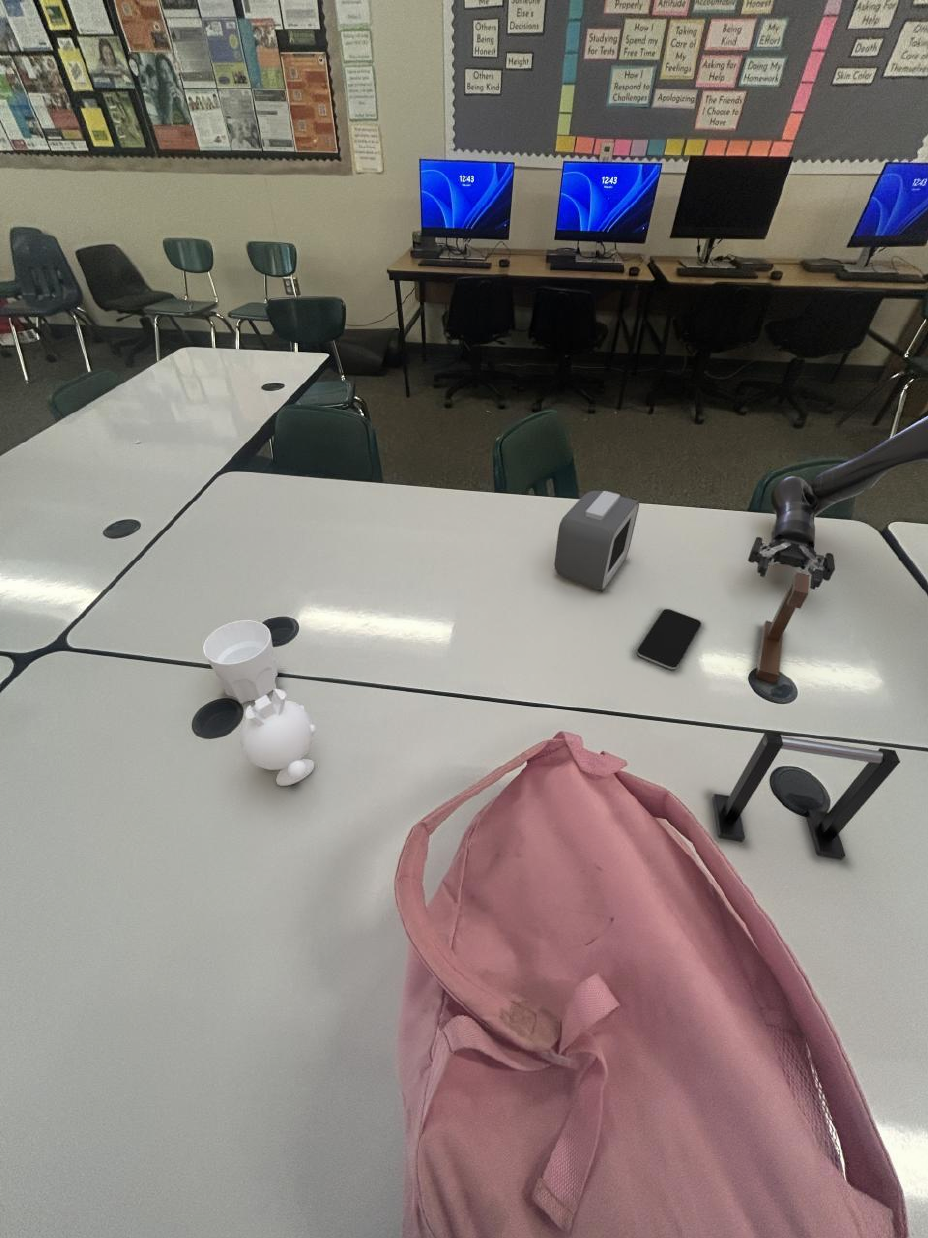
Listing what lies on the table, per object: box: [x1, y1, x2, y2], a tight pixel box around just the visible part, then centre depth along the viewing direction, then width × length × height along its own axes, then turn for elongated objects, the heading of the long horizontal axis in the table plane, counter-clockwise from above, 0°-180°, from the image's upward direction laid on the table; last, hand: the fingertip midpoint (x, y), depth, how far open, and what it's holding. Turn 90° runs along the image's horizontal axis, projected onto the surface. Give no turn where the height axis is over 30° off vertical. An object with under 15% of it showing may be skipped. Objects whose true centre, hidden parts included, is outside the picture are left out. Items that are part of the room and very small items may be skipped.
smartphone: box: [636, 608, 702, 670], centre depth 102 cm, size 7×1×15 cm
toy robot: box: [239, 688, 317, 787], centre depth 77 cm, size 15×10×15 cm, turn 36°
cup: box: [202, 619, 279, 704], centre depth 91 cm, size 10×10×10 cm
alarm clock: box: [553, 490, 640, 592], centre depth 114 cm, size 16×11×16 cm
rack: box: [712, 730, 901, 860], centre depth 69 cm, size 15×6×18 cm, turn 79°
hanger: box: [755, 571, 810, 684], centre depth 94 cm, size 3×14×15 cm, turn 154°
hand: (788, 578), depth 103 cm, fingers open, 8 cm apart
